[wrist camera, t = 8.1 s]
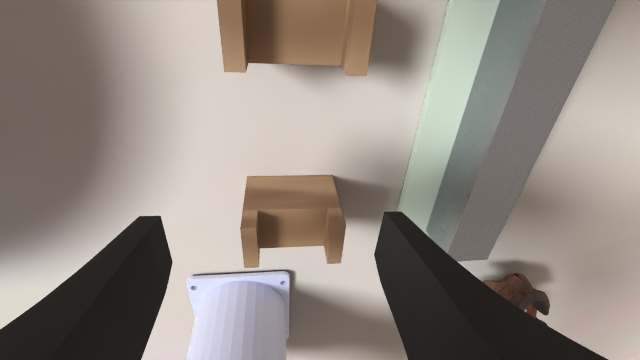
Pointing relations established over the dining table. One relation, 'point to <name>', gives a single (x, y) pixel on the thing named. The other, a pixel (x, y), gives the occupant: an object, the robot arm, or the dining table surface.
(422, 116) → the mat
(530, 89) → the rail
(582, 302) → the dining table surface
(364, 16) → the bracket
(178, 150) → the dining table surface
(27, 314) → the robot arm
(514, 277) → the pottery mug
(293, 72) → the dining table surface
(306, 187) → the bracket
